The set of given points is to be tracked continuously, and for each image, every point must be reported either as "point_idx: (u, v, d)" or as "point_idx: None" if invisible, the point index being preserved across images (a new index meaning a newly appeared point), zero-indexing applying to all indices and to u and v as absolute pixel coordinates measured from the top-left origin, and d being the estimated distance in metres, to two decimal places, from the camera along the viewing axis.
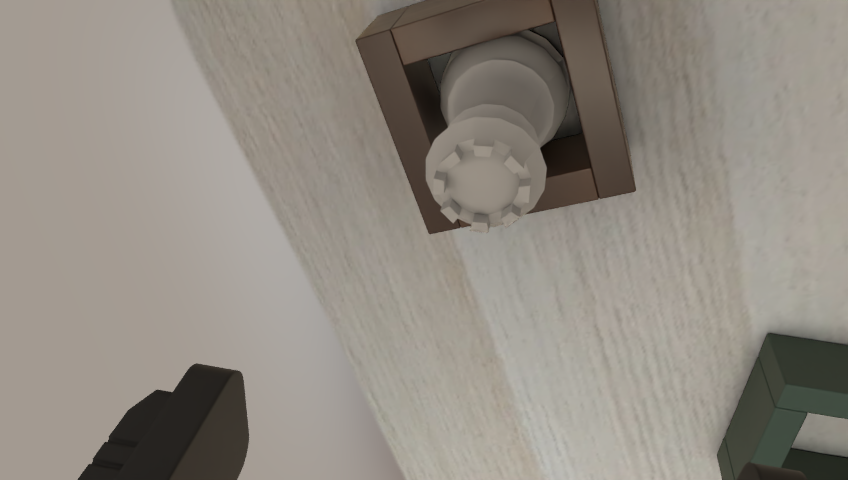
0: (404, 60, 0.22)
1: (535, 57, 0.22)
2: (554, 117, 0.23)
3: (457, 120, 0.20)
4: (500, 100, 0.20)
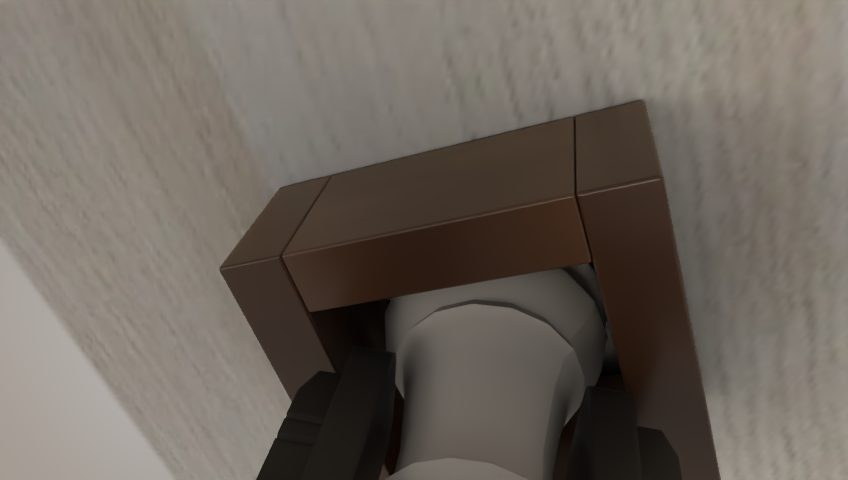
0: (310, 305, 0.12)
1: (550, 294, 0.12)
2: (583, 386, 0.13)
3: None
4: (487, 424, 0.10)
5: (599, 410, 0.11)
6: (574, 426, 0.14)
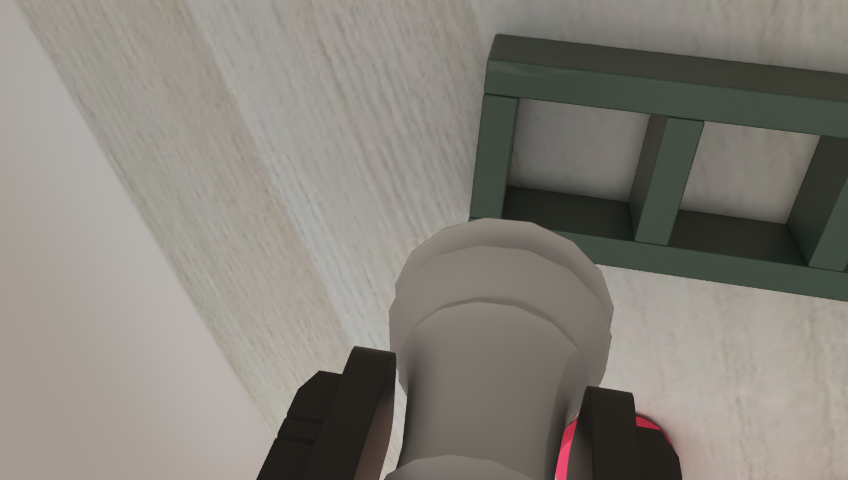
0: None
1: (555, 293, 0.12)
2: None
3: (400, 477, 0.10)
4: (489, 422, 0.10)
5: (599, 410, 0.11)
6: None
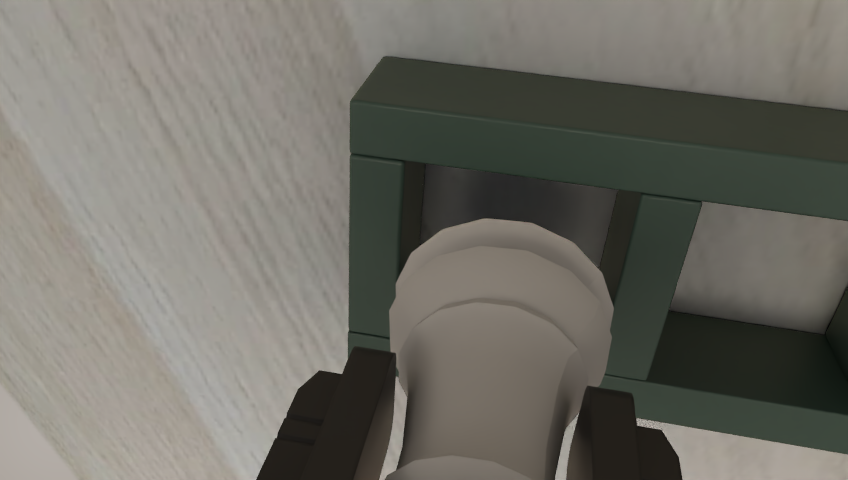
0: None
1: (555, 293, 0.12)
2: None
3: (400, 478, 0.10)
4: (489, 422, 0.10)
5: (599, 410, 0.11)
6: None
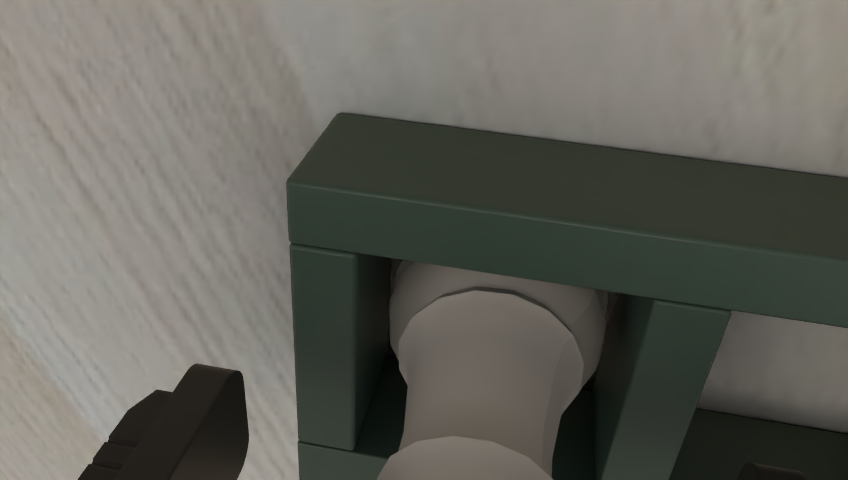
0: None
1: None
2: (582, 373, 0.13)
3: (403, 458, 0.10)
4: (488, 405, 0.11)
5: None
6: None
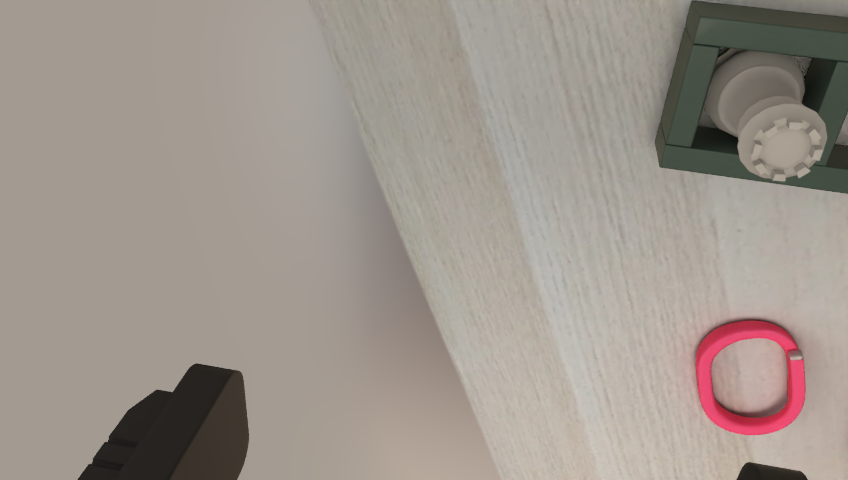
0: None
1: (788, 64, 0.31)
2: None
3: (754, 107, 0.29)
4: (780, 94, 0.30)
5: None
6: None
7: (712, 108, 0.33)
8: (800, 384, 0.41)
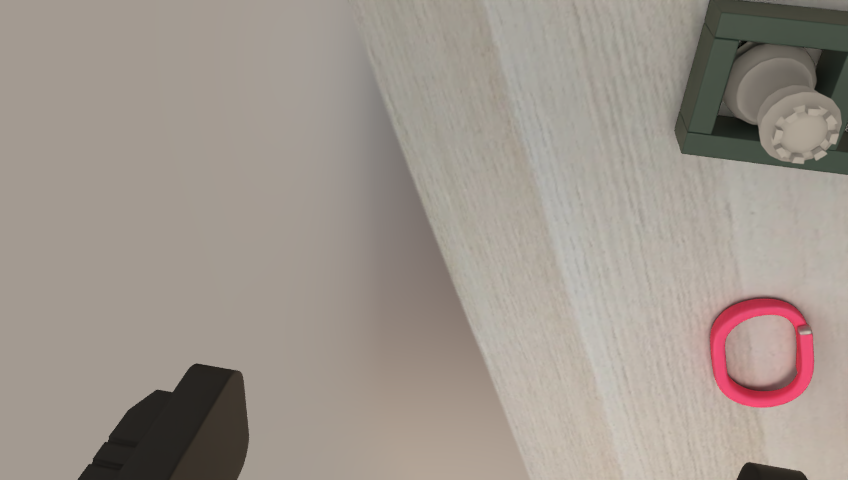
0: None
1: (801, 56, 0.34)
2: None
3: (773, 95, 0.31)
4: (796, 83, 0.32)
5: None
6: None
7: (730, 97, 0.36)
8: (809, 357, 0.43)
